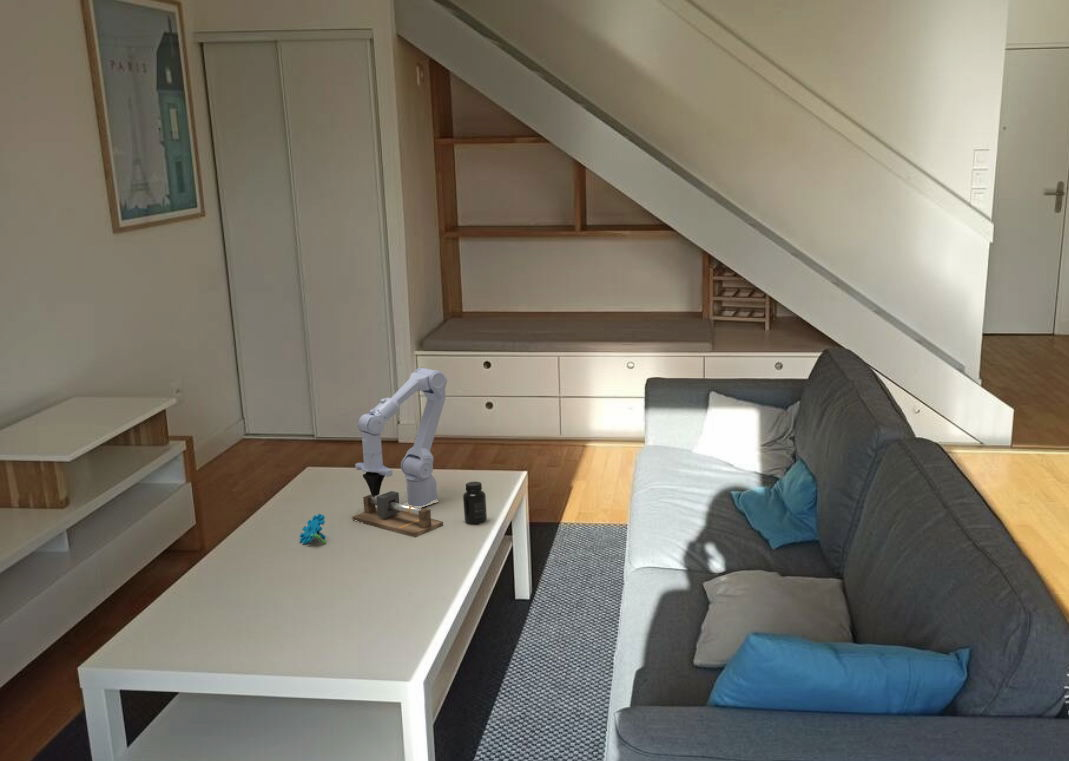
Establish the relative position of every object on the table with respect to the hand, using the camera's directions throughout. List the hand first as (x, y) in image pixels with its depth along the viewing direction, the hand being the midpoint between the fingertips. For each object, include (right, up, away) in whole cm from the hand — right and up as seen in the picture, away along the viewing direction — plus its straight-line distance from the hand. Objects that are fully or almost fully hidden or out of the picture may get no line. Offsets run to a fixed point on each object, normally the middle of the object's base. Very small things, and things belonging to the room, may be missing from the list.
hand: (375, 495), depth 310 cm
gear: (-15, -12, -17) cm, 26 cm away
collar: (+4, -6, -2) cm, 8 cm away
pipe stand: (+7, -8, -4) cm, 12 cm away
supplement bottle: (+31, -8, -5) cm, 33 cm away
